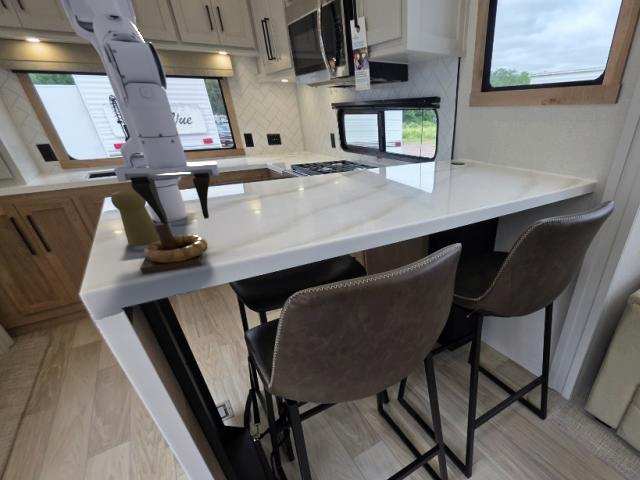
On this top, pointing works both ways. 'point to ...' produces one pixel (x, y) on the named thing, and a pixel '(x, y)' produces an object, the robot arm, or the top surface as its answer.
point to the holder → (167, 243)
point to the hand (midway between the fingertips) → (186, 219)
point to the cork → (135, 217)
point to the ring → (192, 250)
